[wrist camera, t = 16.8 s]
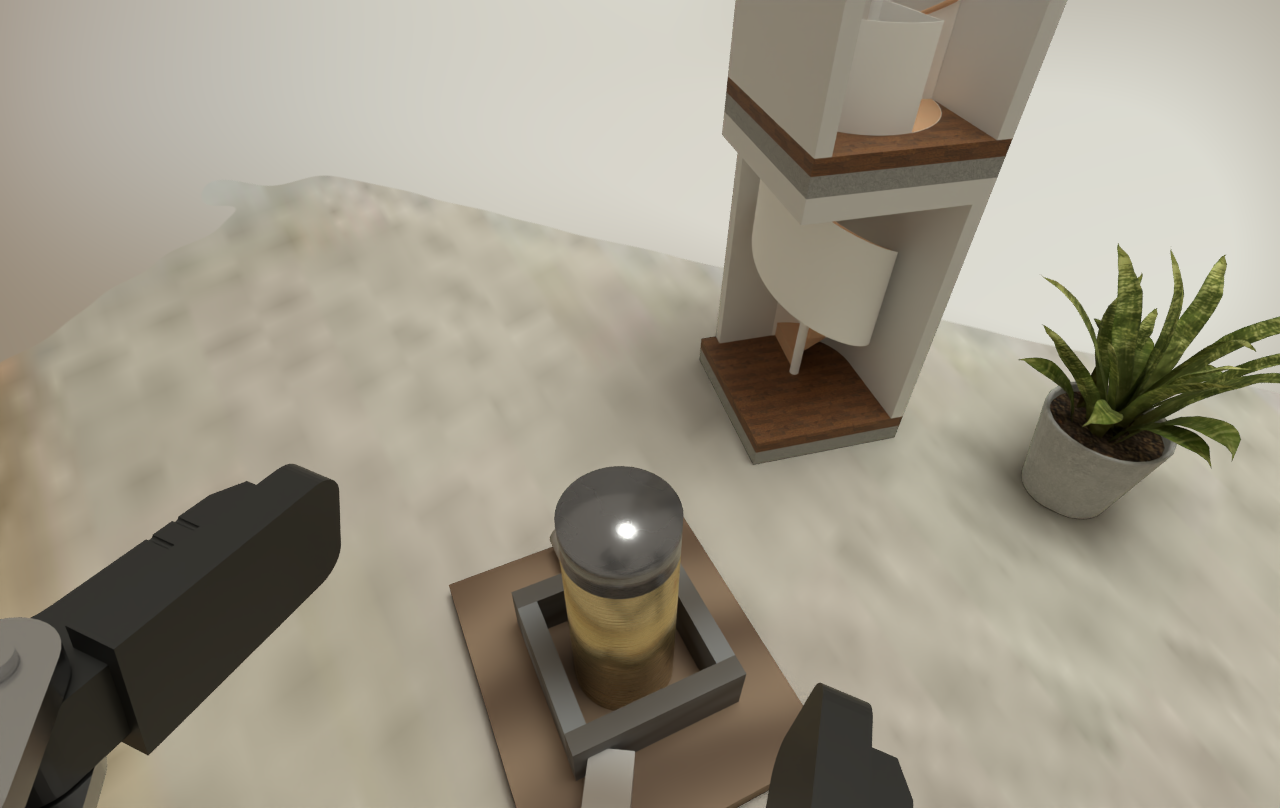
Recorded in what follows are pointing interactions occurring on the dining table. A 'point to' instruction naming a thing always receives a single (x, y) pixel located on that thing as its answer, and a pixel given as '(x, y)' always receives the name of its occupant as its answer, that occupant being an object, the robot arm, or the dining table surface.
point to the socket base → (641, 731)
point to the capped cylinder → (620, 581)
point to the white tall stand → (856, 201)
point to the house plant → (1133, 396)
